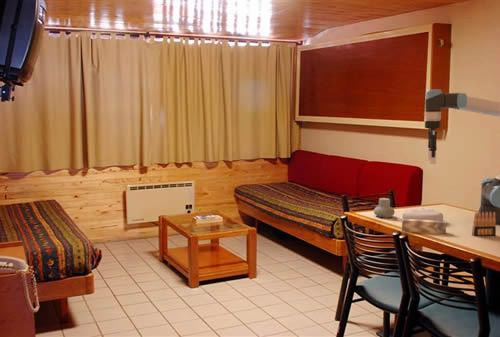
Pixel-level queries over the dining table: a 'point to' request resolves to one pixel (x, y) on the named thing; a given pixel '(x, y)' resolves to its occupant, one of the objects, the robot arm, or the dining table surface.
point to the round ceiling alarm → (423, 214)
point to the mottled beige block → (424, 226)
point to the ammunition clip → (484, 225)
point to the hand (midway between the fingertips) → (431, 162)
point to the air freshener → (384, 208)
